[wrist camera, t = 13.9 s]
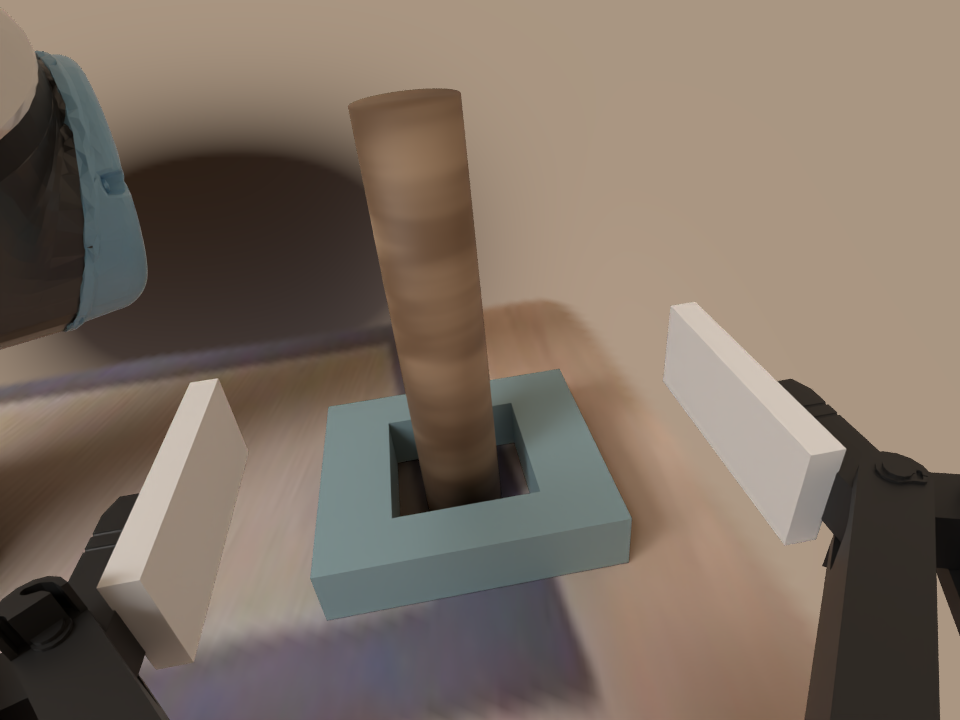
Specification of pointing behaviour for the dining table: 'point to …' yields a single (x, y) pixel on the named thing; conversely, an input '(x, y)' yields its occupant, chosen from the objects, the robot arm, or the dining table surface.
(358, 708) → the dining table surface
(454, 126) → the tall peg
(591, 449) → the hollow square block
